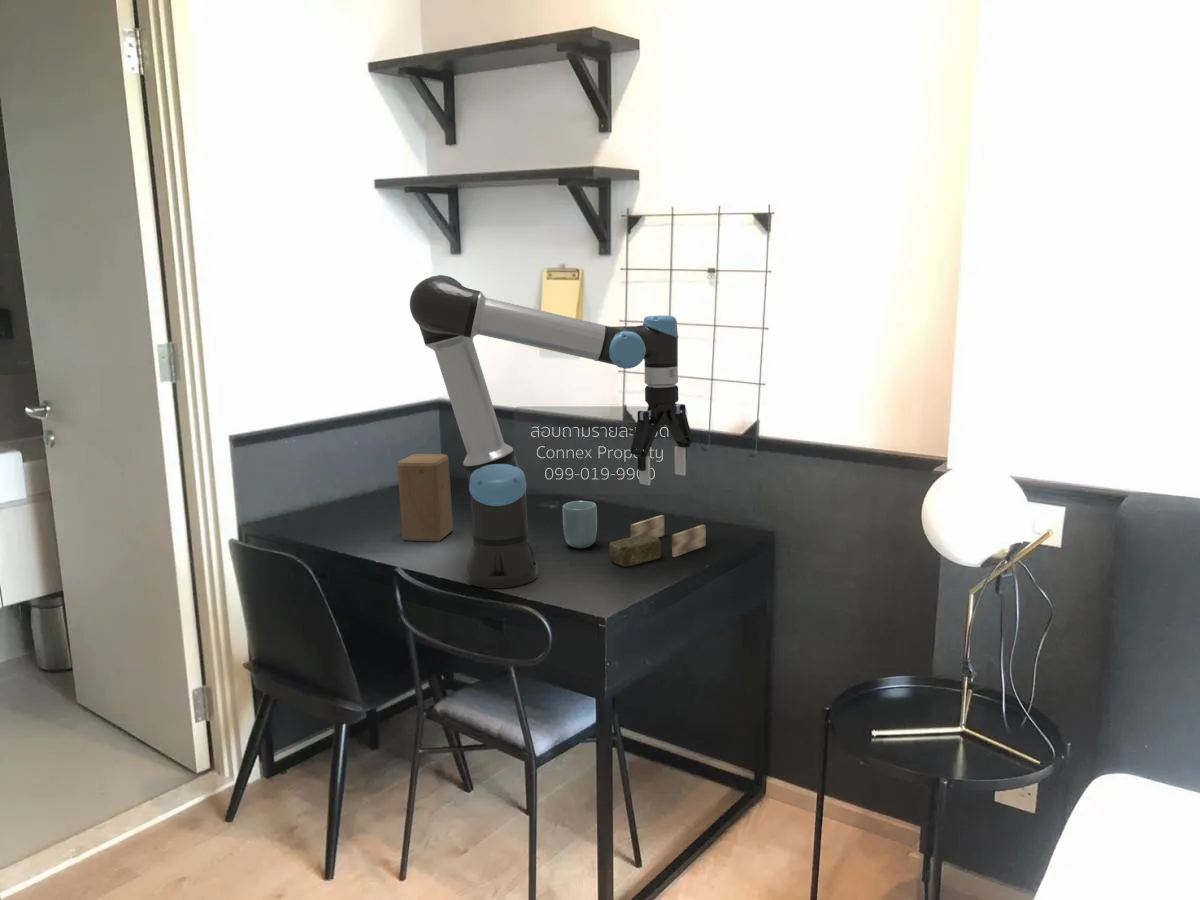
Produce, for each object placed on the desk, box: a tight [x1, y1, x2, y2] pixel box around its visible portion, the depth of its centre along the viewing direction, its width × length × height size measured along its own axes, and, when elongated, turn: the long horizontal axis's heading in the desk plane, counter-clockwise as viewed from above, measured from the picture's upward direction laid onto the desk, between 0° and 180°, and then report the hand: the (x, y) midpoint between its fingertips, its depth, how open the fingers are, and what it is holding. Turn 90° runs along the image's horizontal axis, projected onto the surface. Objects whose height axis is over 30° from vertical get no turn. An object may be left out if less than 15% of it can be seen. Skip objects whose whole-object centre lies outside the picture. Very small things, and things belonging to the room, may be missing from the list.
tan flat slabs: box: [630, 514, 707, 558], centre depth 214 cm, size 11×14×5 cm
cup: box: [562, 500, 598, 549], centre depth 215 cm, size 8×8×10 cm
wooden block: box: [396, 453, 454, 543], centre depth 226 cm, size 10×10×20 cm
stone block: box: [608, 534, 662, 568], centre depth 205 cm, size 6×12×5 cm, turn 126°
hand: (662, 479), depth 211 cm, fingers open, 12 cm apart
